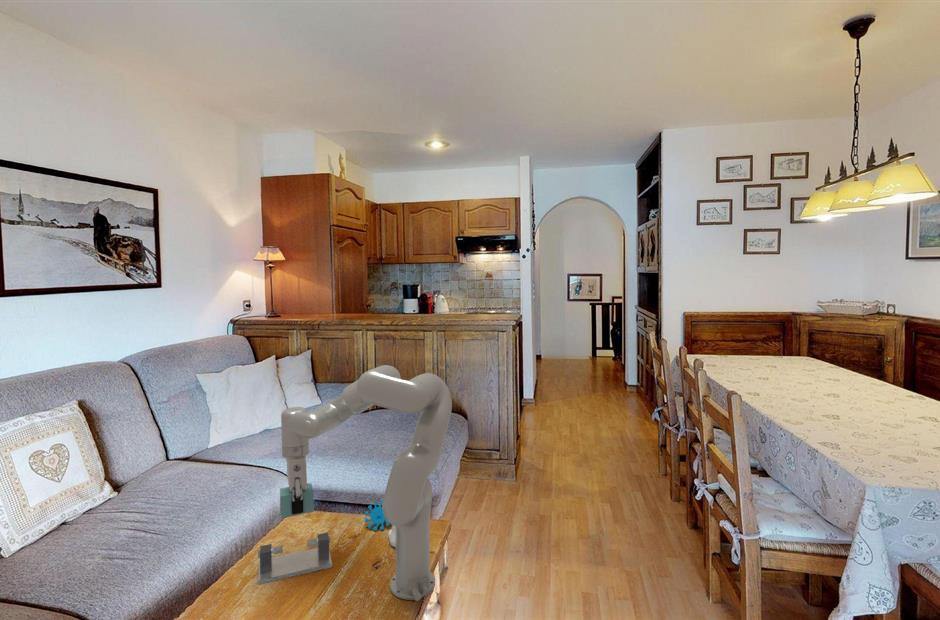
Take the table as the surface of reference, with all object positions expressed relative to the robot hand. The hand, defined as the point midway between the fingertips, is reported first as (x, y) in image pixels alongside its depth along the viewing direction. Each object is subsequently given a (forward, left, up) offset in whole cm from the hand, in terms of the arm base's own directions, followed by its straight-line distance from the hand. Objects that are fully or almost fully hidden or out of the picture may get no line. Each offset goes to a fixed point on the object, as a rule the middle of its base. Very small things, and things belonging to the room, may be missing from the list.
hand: (296, 507), depth 134 cm
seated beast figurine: (-1, -31, -18) cm, 36 cm away
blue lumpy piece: (+11, -28, -18) cm, 35 cm away
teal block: (0, 0, -1) cm, 1 cm away
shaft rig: (-1, +1, -17) cm, 17 cm away
